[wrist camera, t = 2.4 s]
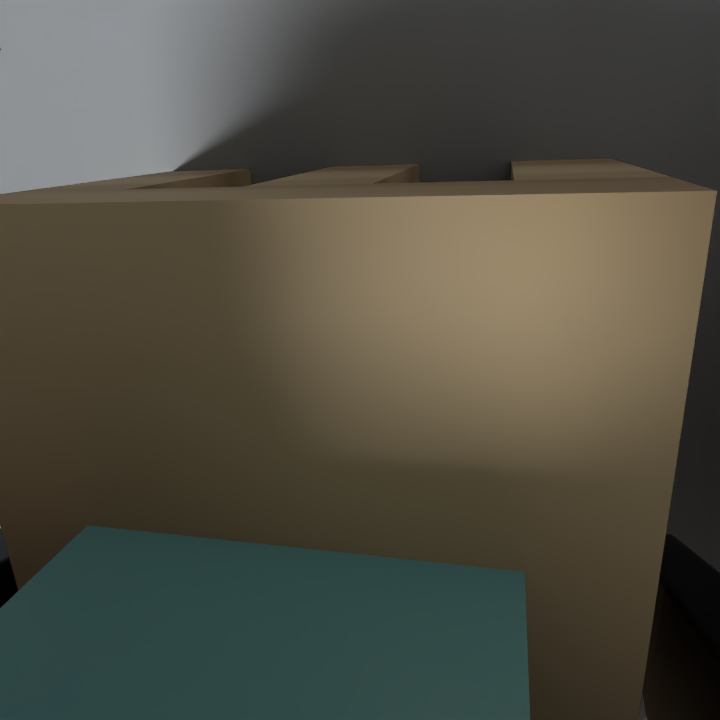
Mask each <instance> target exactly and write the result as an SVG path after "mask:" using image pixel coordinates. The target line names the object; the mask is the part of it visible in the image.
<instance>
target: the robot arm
mask: <svg viewBox="0 0 720 720" xmlns="http://www.w3.org/2000/svg"><path fill="white" fill-rule="evenodd" d="M17 592H18V588H17V584H16V580H15V577H14V573H13V569H12V566H11V562H10V559H9V555H8V551H7V548H6V544H5V540H4V537H3V533H2V529H0V608H1V607H2V606H3V605H4V604H5V603H6V602H7V601H8V600H9V599H10V598H12V597H13V596H14V595H15V594H16V593H17ZM642 693H643V699H644V705H645V711H646V716H647V720H720V573H719V572H718V571H717V570H716V569H714V568H713V567H712V566H711V565H709V564H708V563H707V562H706V561H704V560H703V559H702V558H701V557H699V556H698V555H697V554H696V553H694V552H693V551H692V550H691V549H689V548H688V547H687V546H686V545H684V544H683V543H682V542H681V541H679V540H678V539H677V538H676V537H674V536H672V535H671V534H667V533H666V536H665V543H664V550H663V556H662V563H661V570H660V576H659V583H658V590H657V596H656V603H655V610H654V616H653V623H652V630H651V637H650V643H649V650H648V657H647V663H646V670H645V677H644V683H643V690H642Z"/></svg>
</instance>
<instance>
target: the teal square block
mask: <svg viewBox="0 0 720 720" xmlns="http://www.w3.org/2000/svg"><path fill="white" fill-rule="evenodd" d="M0 720H530V700H529V675H528V649H527V623H526V598H525V572H523V571H513V570H504V569H495V568H485V567H476V566H466V565H457V564H447V563H438V562H429V561H419V560H410V559H400V558H391V557H382V556H372V555H363V554H353V553H344V552H334V551H325V550H316V549H306V548H297V547H287V546H278V545H269V544H259V543H250V542H240V541H231V540H222V539H212V538H203V537H193V536H184V535H174V534H165V533H156V532H146V531H137V530H127V529H118V528H109V527H99V526H90V525H87V526H86V527H85V528H84V529H83V530H82V531H81V532H80V533H79V534H78V535H77V536H76V537H75V538H74V539H73V540H72V541H70V542H69V543H68V544H67V545H66V546H65V547H64V548H63V549H62V550H61V551H60V552H59V553H58V554H57V555H56V556H55V557H54V558H53V559H52V560H50V561H49V562H48V563H47V564H46V565H45V566H44V567H43V568H42V569H41V570H40V571H39V572H38V573H37V574H36V575H35V576H34V577H33V578H32V579H30V580H29V581H28V582H27V583H26V584H25V585H24V586H23V587H22V588H21V589H20V590H19V591H18V592H17V593H16V594H15V595H14V596H13V597H12V598H10V599H9V600H8V601H7V602H6V603H5V604H4V605H3V606H2V607H1V608H0Z"/></svg>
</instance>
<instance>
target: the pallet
mask: <svg viewBox="0 0 720 720" xmlns="http://www.w3.org/2000/svg"><path fill="white" fill-rule="evenodd" d="M716 195H717V191H716V190H713V189H710V188H706V187H703V186H700V185H696V184H693V183H690V182H687V181H683V180H680V179H677V178H673V177H670V176H667V175H664V174H660V173H657V172H654V171H650V170H647V169H644V168H641V167H637V166H634V165H631V164H628V163H624V162H621V161H618V160H614V159H611V158H600V159H567V160H533V161H512V164H511V180H505V181H463V182H420V183H419V164H399V165H366V166H332V167H328V168H323V169H319V170H315V171H310V172H306V173H301V174H297V175H293V176H288V177H284V178H279V179H275V180H271V181H266V182H262V183H257V184H253V185H252V182H251V172H250V169H232V170H198V171H171V172H164V173H156V174H149V175H141V176H134V177H126V178H118V179H111V180H103V181H96V182H88V183H81V184H73V185H66V186H58V187H51V188H43V189H36V190H28V191H21V192H13V193H6V194H0V526H1V529H2V533H3V537H4V540H5V544H6V548H7V551H8V555H9V559H10V562H11V566H12V569H13V573H14V577H15V580H16V584H17V588H18V591H19V590H20V589H21V588H22V587H23V586H24V585H25V584H26V583H27V582H28V581H29V580H30V579H32V578H33V577H34V576H35V575H36V574H37V573H38V572H39V571H40V570H41V569H42V568H43V567H44V566H45V565H46V564H47V563H48V562H49V561H50V560H52V559H53V558H54V557H55V556H56V555H57V554H58V553H59V552H60V551H61V550H62V549H63V548H64V547H65V546H66V545H67V544H68V543H69V542H70V541H72V540H73V539H74V538H75V537H76V536H77V535H78V534H79V533H80V532H81V531H82V530H83V529H84V528H85V527H86V526H87V525H90V526H99V527H109V528H118V529H127V530H137V531H146V532H156V533H165V534H174V535H184V536H193V537H203V538H212V539H222V540H231V541H240V542H250V543H259V544H269V545H278V546H287V547H297V548H306V549H316V550H325V551H334V552H344V553H353V554H363V555H372V556H382V557H391V558H400V559H410V560H419V561H429V562H438V563H447V564H457V565H466V566H476V567H485V568H495V569H504V570H513V571H523V572H525V598H526V623H527V649H528V675H529V700H530V720H638V717H639V710H640V703H641V697H642V690H643V683H644V677H645V670H646V663H647V657H648V650H649V643H650V637H651V630H652V623H653V616H654V610H655V603H656V596H657V590H658V583H659V576H660V570H661V563H662V556H663V550H664V543H665V536H666V530H667V523H668V516H669V510H670V503H671V496H672V489H673V483H674V476H675V469H676V463H677V456H678V449H679V443H680V436H681V429H682V423H683V416H684V409H685V403H686V396H687V389H688V382H689V376H690V369H691V362H692V356H693V349H694V342H695V336H696V329H697V322H698V316H699V309H700V302H701V296H702V289H703V282H704V276H705V269H706V262H707V255H708V249H709V242H710V235H711V229H712V222H713V215H714V209H715V202H716Z"/></svg>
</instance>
